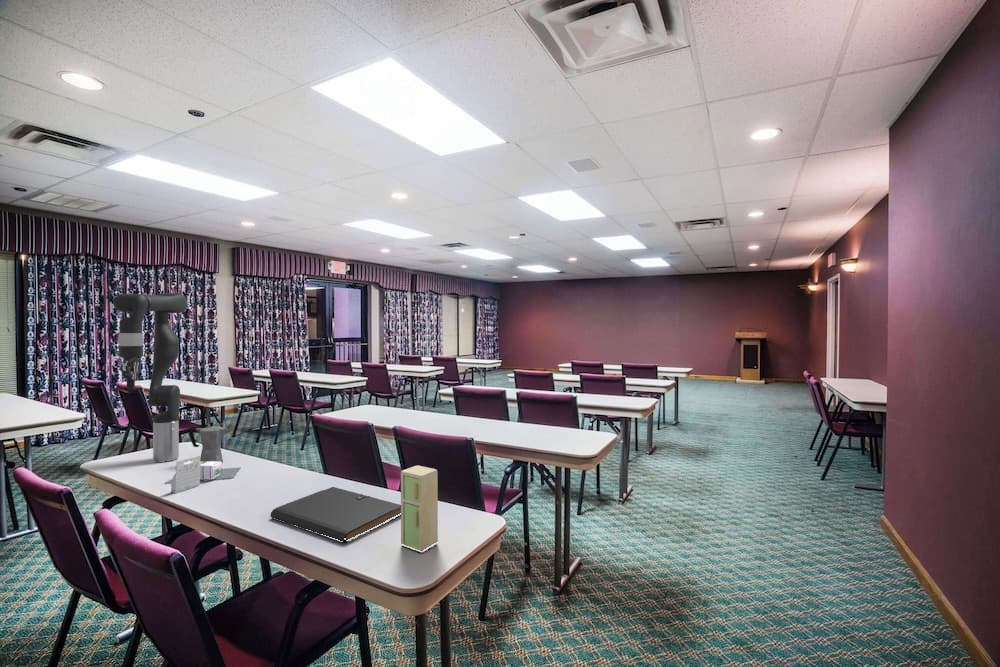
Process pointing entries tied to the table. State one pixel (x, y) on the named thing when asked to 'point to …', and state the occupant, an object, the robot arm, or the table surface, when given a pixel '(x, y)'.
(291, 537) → the table surface
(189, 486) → the ink box
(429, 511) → the toy refrigerator
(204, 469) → the syrup box
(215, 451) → the coffeepot
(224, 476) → the mat
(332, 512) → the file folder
